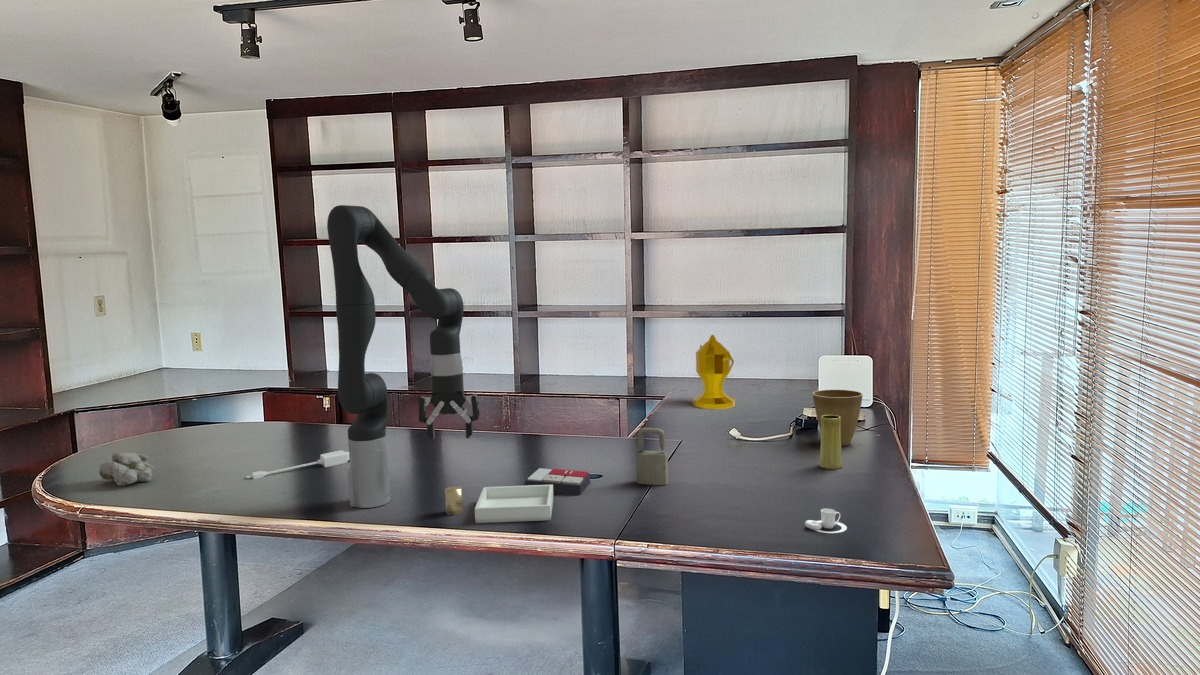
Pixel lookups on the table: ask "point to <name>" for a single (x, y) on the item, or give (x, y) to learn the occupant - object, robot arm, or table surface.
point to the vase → (830, 442)
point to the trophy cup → (713, 375)
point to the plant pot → (839, 409)
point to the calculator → (561, 480)
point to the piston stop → (454, 500)
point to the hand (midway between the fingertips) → (450, 438)
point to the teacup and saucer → (826, 521)
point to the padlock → (651, 461)
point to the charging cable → (325, 460)
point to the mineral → (126, 468)
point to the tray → (514, 504)
